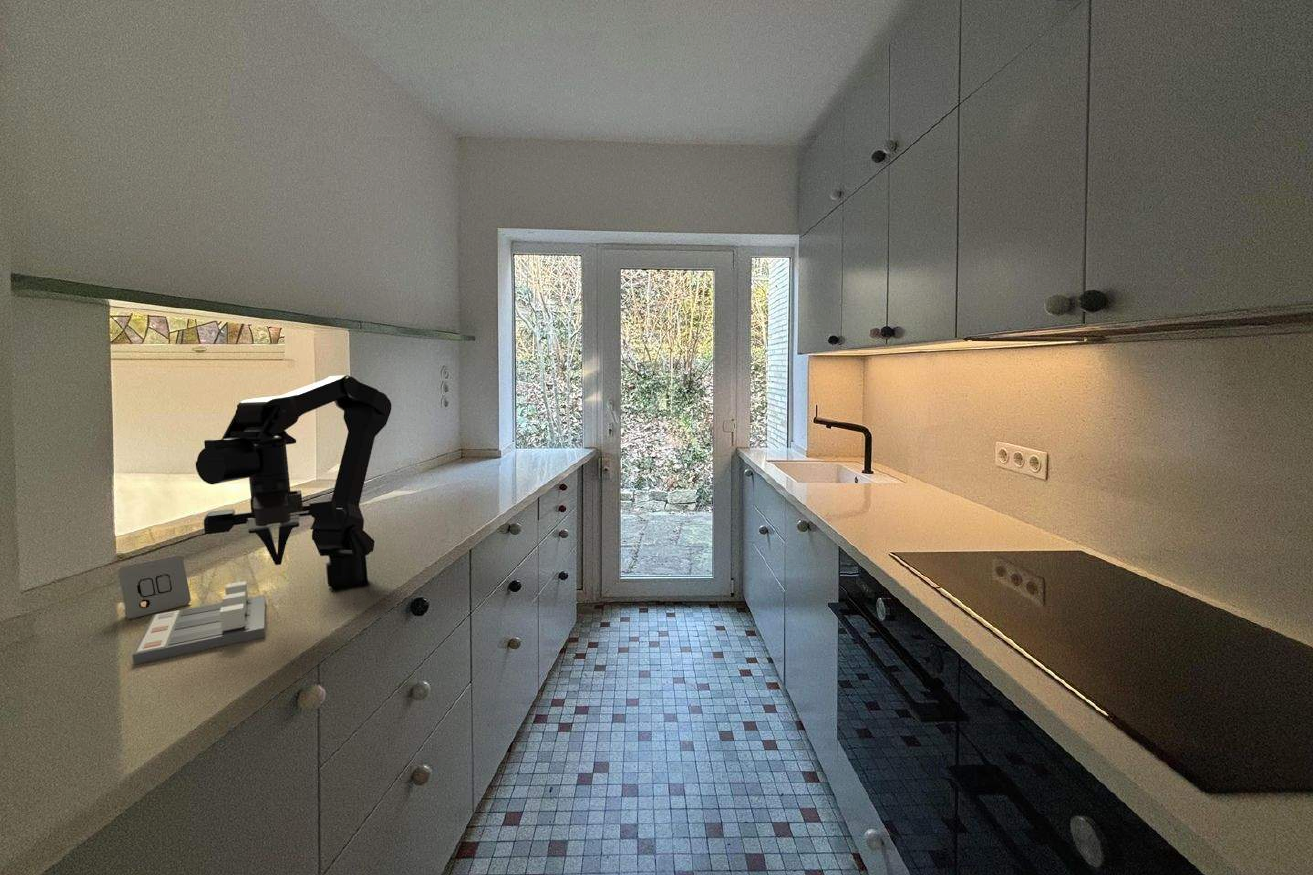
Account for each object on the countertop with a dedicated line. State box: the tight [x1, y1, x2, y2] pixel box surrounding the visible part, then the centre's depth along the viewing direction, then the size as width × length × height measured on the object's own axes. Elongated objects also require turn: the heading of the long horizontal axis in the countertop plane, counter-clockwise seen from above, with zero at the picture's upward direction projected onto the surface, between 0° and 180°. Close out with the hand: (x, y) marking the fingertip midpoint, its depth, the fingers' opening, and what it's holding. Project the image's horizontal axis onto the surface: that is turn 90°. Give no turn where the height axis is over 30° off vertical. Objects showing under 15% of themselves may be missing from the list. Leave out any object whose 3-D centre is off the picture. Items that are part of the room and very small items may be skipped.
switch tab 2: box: [222, 592, 247, 613], centre depth 104 cm, size 3×2×3 cm
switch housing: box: [132, 594, 267, 665], centre depth 102 cm, size 16×19×2 cm
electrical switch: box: [116, 554, 192, 620], centre depth 113 cm, size 9×5×9 cm, turn 141°
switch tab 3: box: [220, 604, 245, 631], centre depth 98 cm, size 3×2×3 cm
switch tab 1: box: [224, 580, 249, 601], centre depth 110 cm, size 3×2×3 cm
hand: (278, 564), depth 107 cm, fingers closed
